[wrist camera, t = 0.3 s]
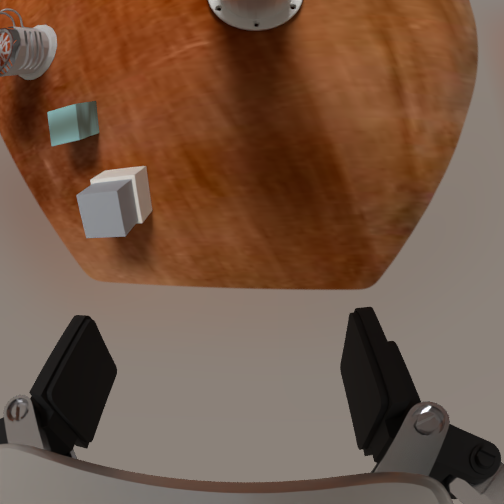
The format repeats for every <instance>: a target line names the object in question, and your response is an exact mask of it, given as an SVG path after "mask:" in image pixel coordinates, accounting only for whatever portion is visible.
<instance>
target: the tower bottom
mask: <svg viewBox="0 0 504 504" xmlns="http://www.w3.org/2000/svg"><path fill="white" fill-rule="evenodd" d="M127 179H132V185H133V191H134V198H135V204H136V209H137V215H138V222H137V223H136V224H138V223H143V222H144V221H145V219H146V218H147V217H148V215H149V214H150V213H151V212H152V204H151V198H150V191H149V184H148V176H147V168H146V166H140V167H131V168H122V169H114V170H106V171H103V172H102V173H100V174H99V175H97V176H95V177H94V178H92V179H91V180H90V181H91V185H92V184H93V183H100V182H108V181H117V180H127Z"/></svg>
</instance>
